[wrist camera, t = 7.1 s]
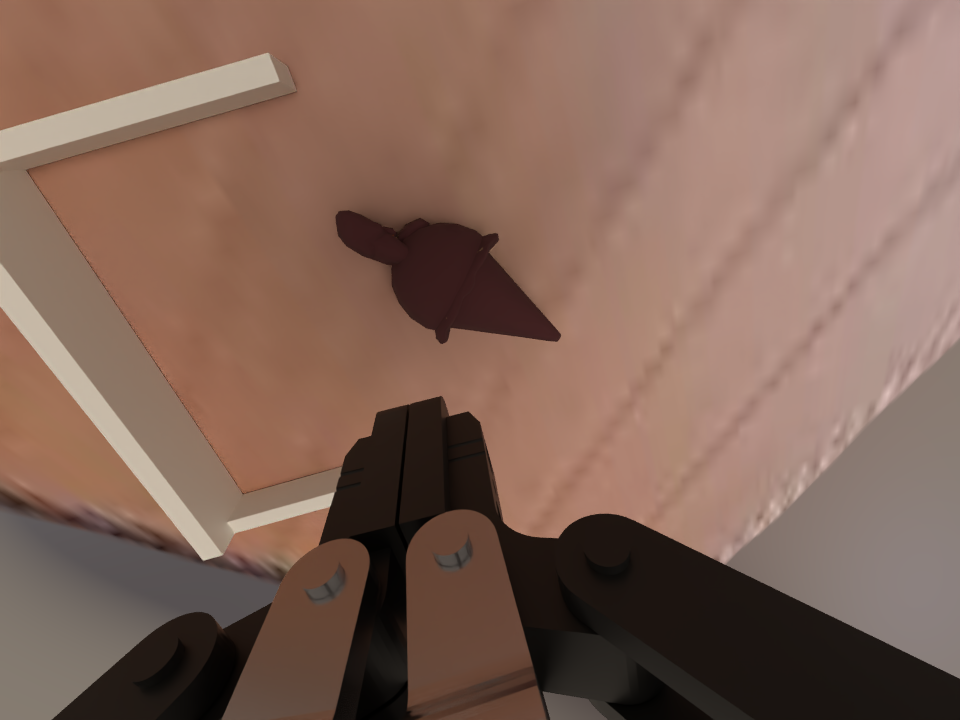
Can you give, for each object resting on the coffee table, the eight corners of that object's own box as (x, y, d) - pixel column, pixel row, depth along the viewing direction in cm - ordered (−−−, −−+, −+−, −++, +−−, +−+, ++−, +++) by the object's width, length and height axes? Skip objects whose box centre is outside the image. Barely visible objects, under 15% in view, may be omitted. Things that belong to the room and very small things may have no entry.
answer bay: (287, 66, 23) (252, 41, 18) (435, 453, 35) (435, 495, 30) (-16, 154, 23) (-125, 150, 19) (232, 509, 35) (203, 560, 30)
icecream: (611, 286, 24) (362, 142, 20) (549, 402, 24) (298, 278, 21) (567, 287, 30) (375, 179, 27) (520, 377, 31) (327, 281, 28)
